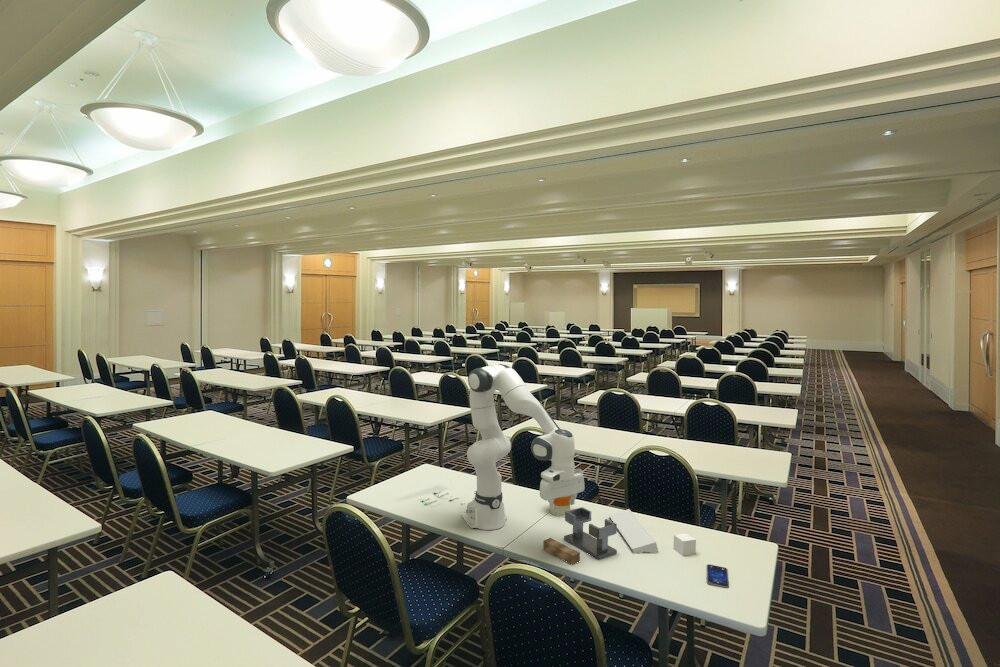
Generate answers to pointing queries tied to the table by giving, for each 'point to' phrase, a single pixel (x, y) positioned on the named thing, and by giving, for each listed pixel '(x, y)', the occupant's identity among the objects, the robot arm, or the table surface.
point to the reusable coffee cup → (561, 505)
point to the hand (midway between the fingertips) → (562, 506)
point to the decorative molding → (634, 532)
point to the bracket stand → (586, 541)
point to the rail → (561, 551)
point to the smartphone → (717, 576)
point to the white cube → (684, 544)
